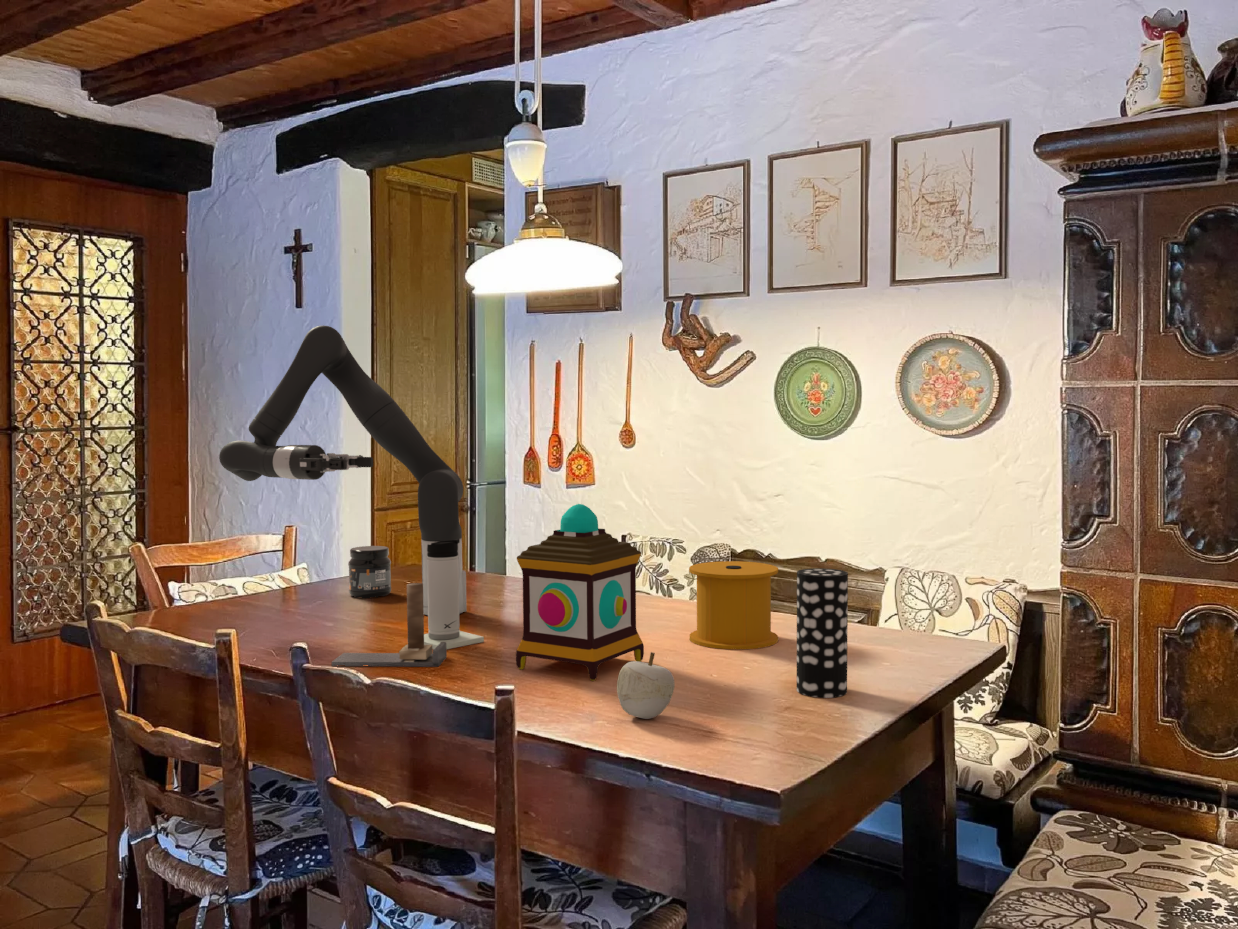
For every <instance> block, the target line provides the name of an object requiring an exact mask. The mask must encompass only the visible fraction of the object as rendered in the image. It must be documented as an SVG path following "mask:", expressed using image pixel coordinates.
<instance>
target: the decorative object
mask: <svg viewBox="0 0 1238 929" xmlns="http://www.w3.org/2000/svg"><path fill="white" fill-rule="evenodd" d="M655 655H656V654H655V652H652V651H651V652H650V654H649V659H648V662H643V661H640V662H638V661H636V660H632V661H628V662H627V663H625V664H624V665H623V666H622V667H621V669H620V670H619V673H618V678H617V681H616V692H617V693H616V695H617V698H618V701H619V704H620V706H621V708H622V710H624V712H625V713H626V714H628V715H630V716H632V717H637V718H640V719H644V720H650V719H653V718H656V717H658V715H660V714H661V713H662V712H663V711H664V710H665V709H667V706H668V705H669V704H670V701H671V700H672V696H673V695H674V694H673V693H674V691H675V677H674V675H673V673H672V672H671V671H670V670H669V669H668V668H666V667H664V666H661V665H656V664H653V662H654V658H655Z"/></svg>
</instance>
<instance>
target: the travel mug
mask: <svg viewBox="0 0 1238 929" xmlns="http://www.w3.org/2000/svg"><path fill="white" fill-rule="evenodd" d="M458 543H460V540H459V539H455V540H447V541H440V542H434V543H431V544H430V545H429V544H428V545H427V551H428V553H427V559H428V560H427V581H428V615H427V618H428V619H427V626H428V627H427V628H428V633H427V634H428V635H429V638H430V639H433V640H450V639H455V638H458V637H459V635H460V631H461V630H460V614H459V567H458V552H457V551H458Z"/></svg>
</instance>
